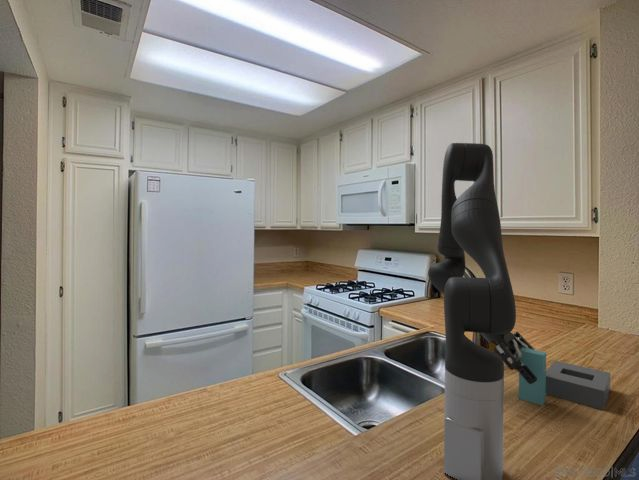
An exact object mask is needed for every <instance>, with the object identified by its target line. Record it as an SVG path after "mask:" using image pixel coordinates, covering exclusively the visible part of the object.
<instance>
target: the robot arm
mask: <svg viewBox="0 0 639 480" xmlns="http://www.w3.org/2000/svg"><path fill="white" fill-rule="evenodd" d="M494 172H495V170H494V154H493V150H492V148H491V147H490V145H488V144H485V143H478V142H477V143H476V142H475V143H472V142H471V143H470V142H452V143H450V144H449V145H448V146H447V148H446V150H445V152H444V158H443V167H442V179H441V180H442V182H441V207H440V208H441V210H440V211H441V213H440V214H441V216H440V227H439V232H438V239H437V251H438V253H439V254H440V255H442V256H443V257H444V258H443V260H441V261H439V262H436V263H434V264H432V265H430V267H429V269H428V270H427V271H428V272H427V275H428V279H429V281H430V282H431V284H432V285H433V286H434V288H435V289H437V290H438V291H439V292H441V293H442V294H443V311H444V312H443V313H444V335H445V348H444V349H445V350H444V351H445V353H444V356H445V358H444V411H443V412H444V414H443V415H444V418H443V419H444V421H443V422H444V424H443V427H444V428H443V429H444V434H443V473H444V474H445V473H446V474H445V475H447V474H448V475H447V476H449V477H450V476H451V477H450V478H452V477H453V478H452V479H454V478H455V479H454V480H456V479H457V480H503V478H502V477H504V398H505V397H504V395H505V394H504V392H505V391H504V388H505V387H504V386H505V384H504V383H505V381H504V380H505V365H506V366H507V368H508V369H509V370H511V371H513V370H515V372H516V371H517V372H518V373H520V374H521V375H522V376H523V378H524V379H525V380H526V381H527V382H528V383H529V384H532V383H534V382H536V381H537V377H536V376H535V375H534V374H533V373H532V372H531V370H530V369H529V368H528V367H527V366H526V365H525V364H524V362H523V360H522V354H521V352H520V349H521V348H523V347H524V348H529V349H533V350H536V349H535V348H534V347H533V346H532V345H531V344H530V343H529V342H528V341H527V340H526V338H524V337H523V336H522V334H521V333H520V332H518V331H515V332H514V333H512V332H513V330H514V328H515V325H516V321H517V312H516V310H517V307H516V301H515V294H514V291H513V285H512V282H511V281H512V280H511V277H510V274H509V270H508V267H507V262H506V257H505V253H504V248H503V247H504V246H503V236H502V227H501V225H502V224H501V219H500V218H501V217H500V211H499V206H498V201H497V200H498V199H497V195H496V190H495V177H494V176H495V175H494V174H495V173H494ZM457 181H459V182H460V181H461V182H474V183H473V184H472V185H471V186H469V187H468V188H467V189H465V191H463V192H462V193H461V194H460V195H459V196H458V197H457V195H456V190H455V189H456V188H455V183H456V182H457ZM465 253H466V254H467V255H469V257H471V259H472V260H473V261H474V262H475V263H476V264H477V265H478V266H479V268H480V269H481V271H482V273H483V275H484V276H485V277H471V276H470V277H468V276H467V277H466V276H464V275H465V273H466V269H467V268H466V267H467V266H466V256H465ZM467 332H468V333H469V332H470V333H477V334H481V335H482V337H483V339H484V338H485V339H486V340H487V341H488V342H489V343H493V342H494V341H495V342H496V343H497V344H498V345H497V346H496V347H494V350H495V352H496V353H497V354H496V353H495V352H493V351H491V350H489V349H486V348H484V347H483V346H481V345H480V344H477V343H476V342H474V341H473V340H471V339H470V338H468V337H467V336H466V335H465V333H467ZM503 361H504V363H503Z"/></svg>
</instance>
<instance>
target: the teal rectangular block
mask: <svg viewBox="0 0 639 480" xmlns="http://www.w3.org/2000/svg"><path fill="white" fill-rule="evenodd" d="M520 352H521V354H522V360H523V362H524V364H525V365H526V366H527V367H528V368H529V369H530V370H531V372H532V373H533V374H534V375H535V376H536V377H537V381H536V382H534V383H532V384H529V383H528V382H527V381H526V380H525V379H524V378H523V376H522V375H521V374H520V373H519V372H518V373H519V374H518V400H519V399H520V400H523V401H525V402H527V403H528V402H529V403H532V404H535V405H539V406H542V407H543V406H544V405H545V403H546V399H547V398H546V395H547V394H546V371H547V352H546V351H543V350H537V349H535V350H533V349H529V348H524V347H523V348H521V349H520Z"/></svg>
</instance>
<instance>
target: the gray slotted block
mask: <svg viewBox="0 0 639 480" xmlns="http://www.w3.org/2000/svg"><path fill="white" fill-rule="evenodd" d="M610 391H611V372H608V371H603V370H600V369H595V368H591V367H586V366H581V365H577V364H572V363H568V362H563V361H558V360H553V362H552V363H551V365H550V366H549V367H548V368H547V369H546V395H549V396H552V397H556V398H560V399H563V400H566V401H569V402H572V403H573V402H574V403H577V404H581V405H584V406H587V407H591V408H594V409H598V410H601V411H605V408H606V405H607V402H608V398H609V394H610Z"/></svg>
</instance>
